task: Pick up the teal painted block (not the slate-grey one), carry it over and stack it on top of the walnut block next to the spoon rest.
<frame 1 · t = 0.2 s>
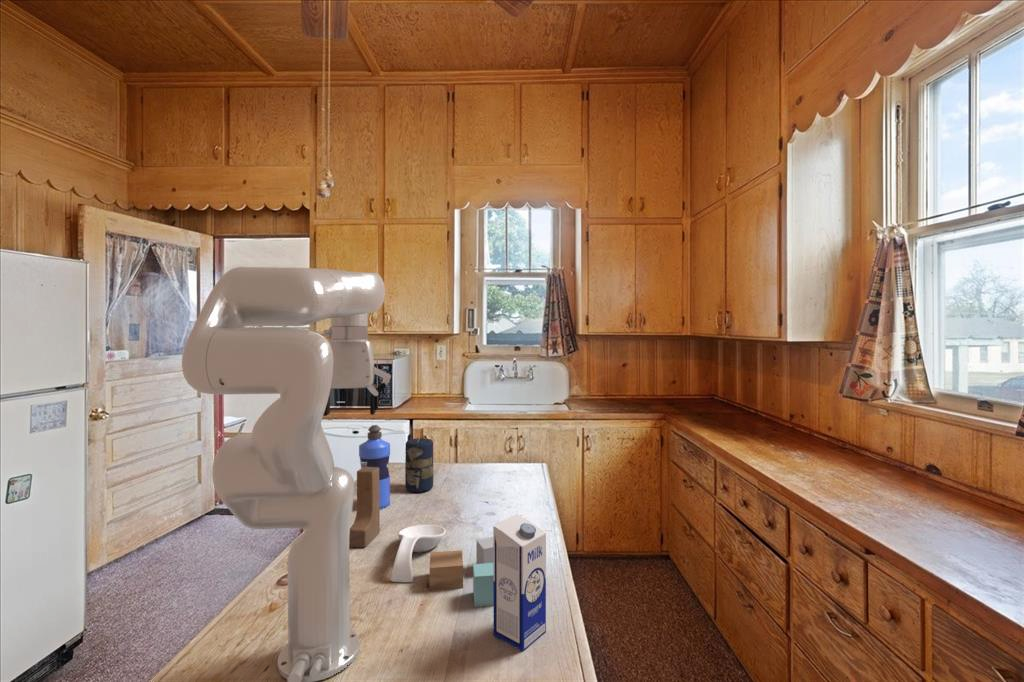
hand: (349, 414, 101), 36 cm above the counter, tool pointing down, fingers open, 9 cm apart
grey block: (490, 568, 107), on the counter
canister: (419, 490, 161), on the counter
spoon rest: (416, 558, 113), on the counter
wooden block: (364, 540, 122), on the counter
teal block: (486, 598, 95), on the counter
milk carton: (519, 634, 84), on the counter
water bottle: (375, 505, 146), on the counter
walnut block: (446, 581, 102), on the counter
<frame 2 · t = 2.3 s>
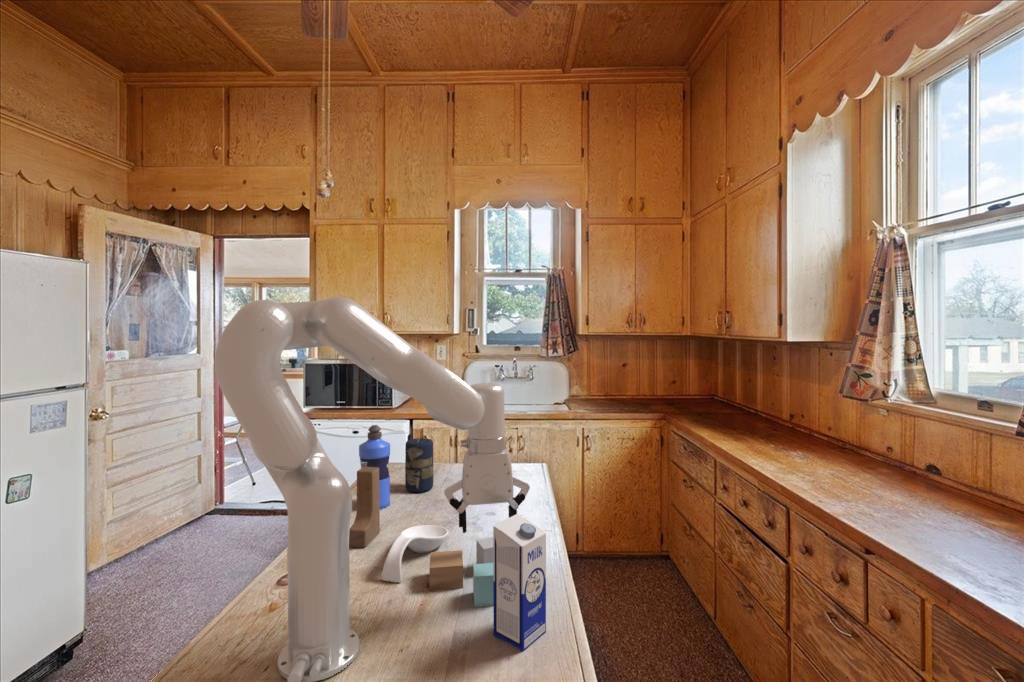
hand: (488, 528, 95), 14 cm above the counter, tool pointing down, fingers open, 9 cm apart
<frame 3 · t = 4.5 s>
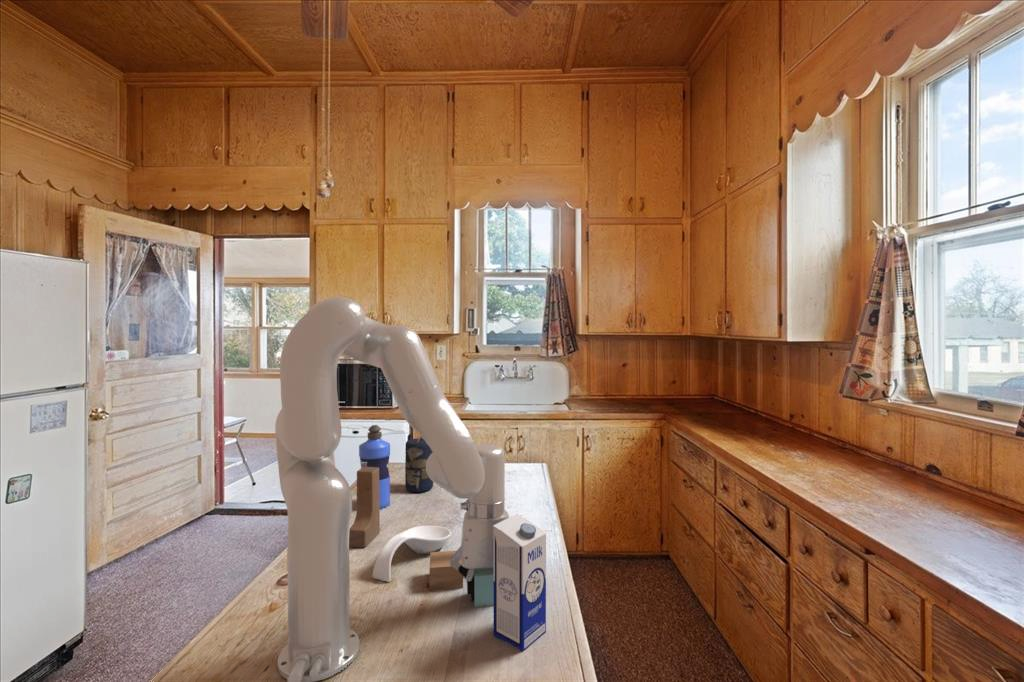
hand: (486, 594, 95), 1 cm above the counter, tool pointing down, fingers closed on teal block, 5 cm apart
teal block: (486, 598, 95), on the counter, touching gripper
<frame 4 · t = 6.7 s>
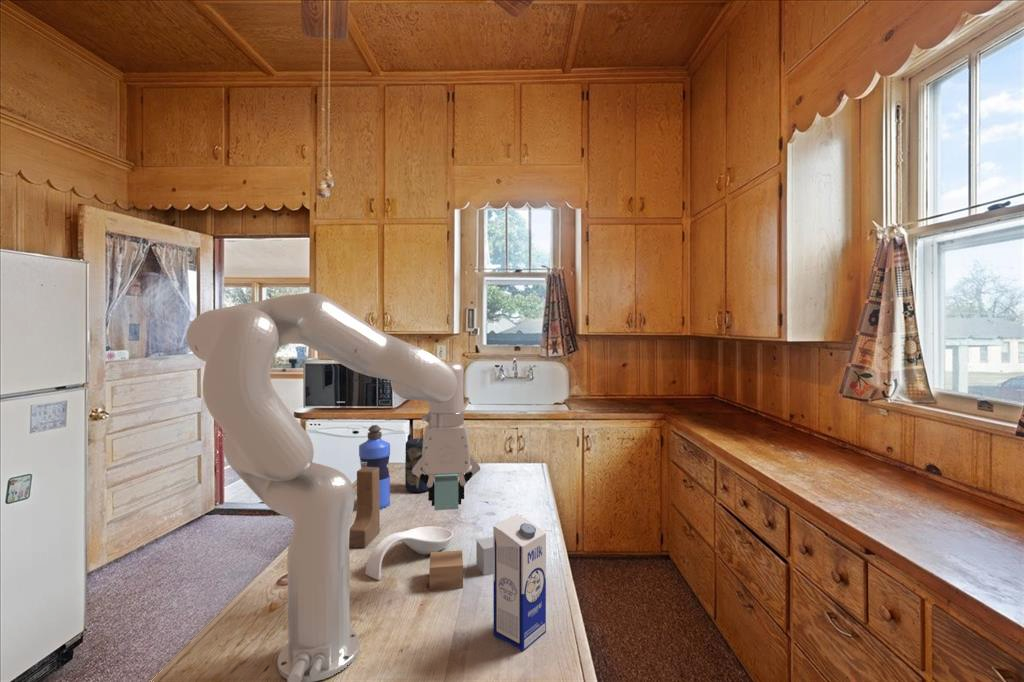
hand: (446, 502, 101), 17 cm above the counter, tool pointing down, fingers closed on teal block, 5 cm apart
teal block: (446, 505, 101), point 16 cm above the counter, touching gripper
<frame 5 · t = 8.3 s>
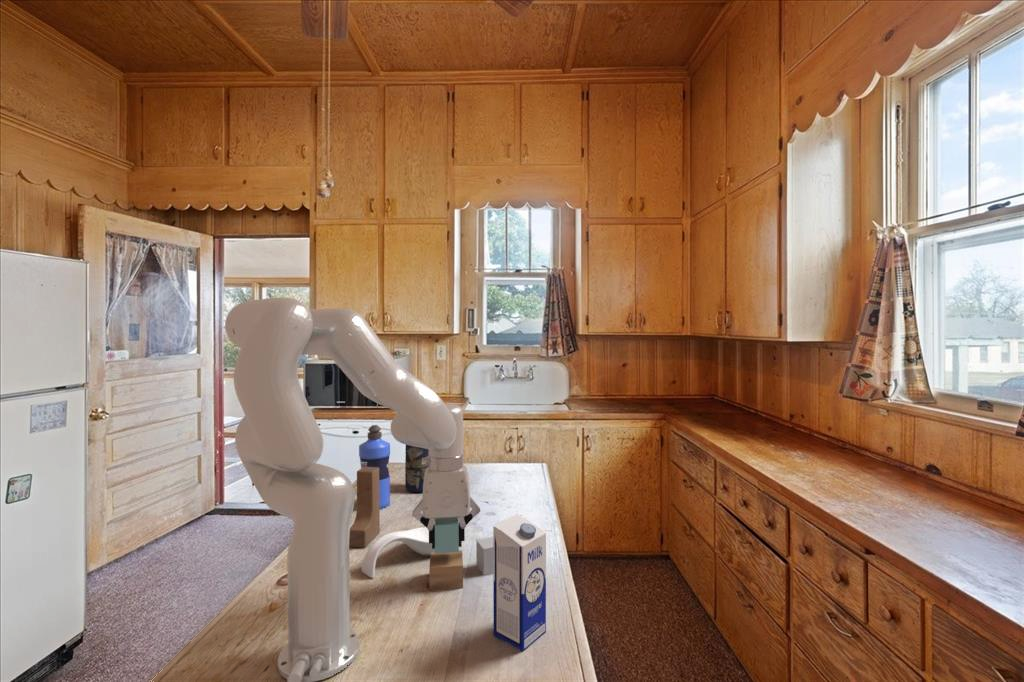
hand: (446, 544, 102), 8 cm above the counter, tool pointing down, fingers closed on teal block, 5 cm apart
teal block: (446, 547, 102), point 7 cm above the counter, touching gripper
when the fingers open (7 cm above the counter, at t = 9.3 s): teal block drops 2 cm, point 5 cm above the counter.
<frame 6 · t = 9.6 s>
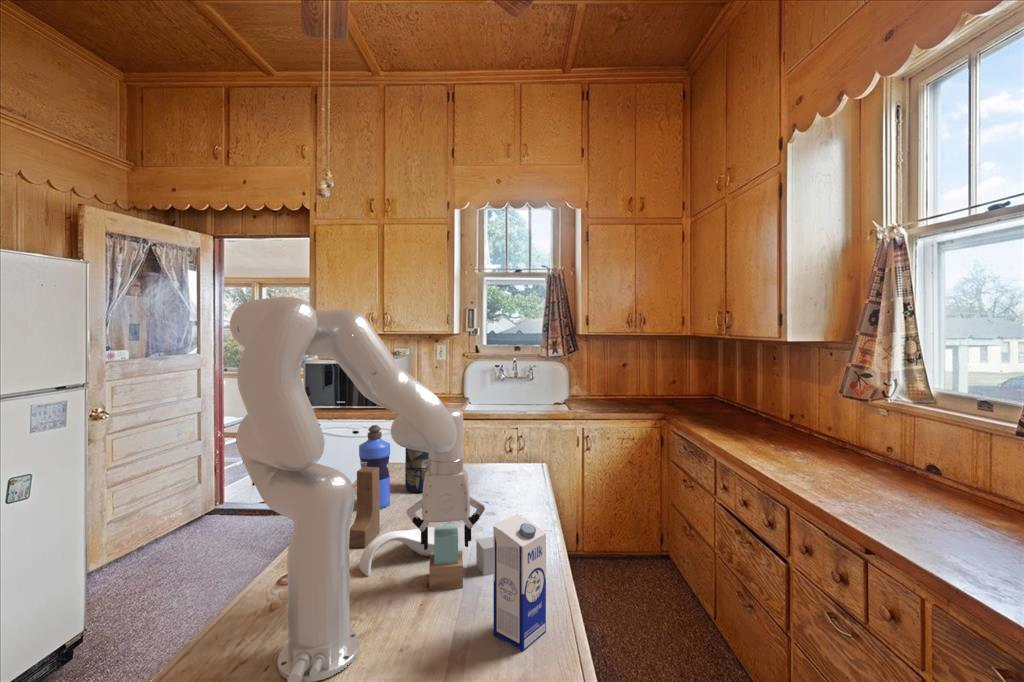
hand: (446, 545, 102), 8 cm above the counter, tool pointing down, fingers open, 8 cm apart
teal block: (446, 558, 102), point 5 cm above the counter
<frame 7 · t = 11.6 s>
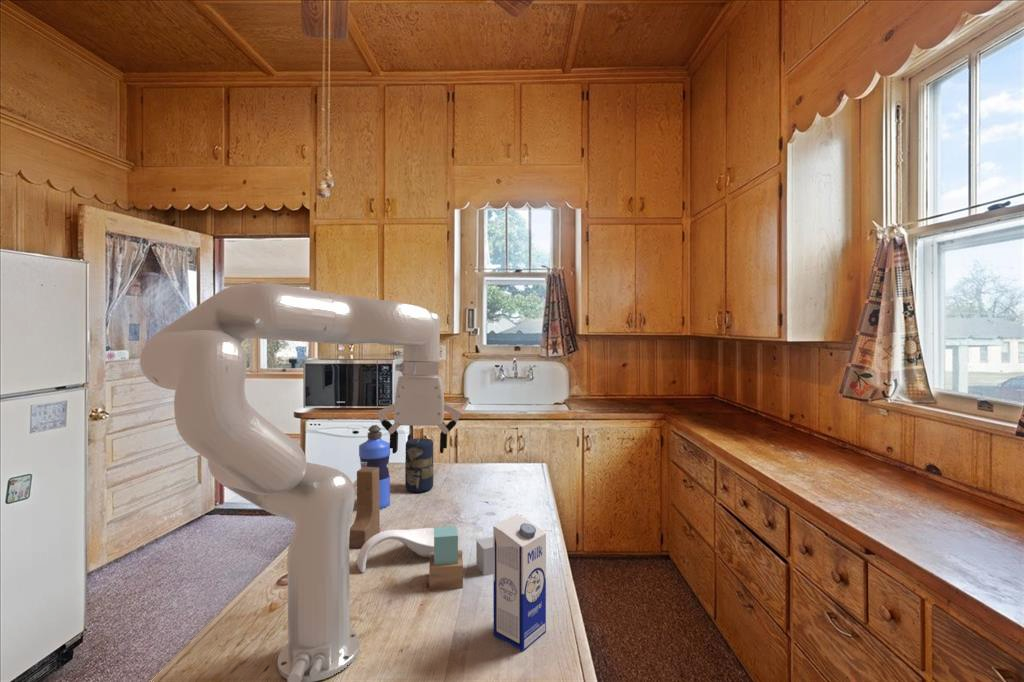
hand: (418, 451, 98), 29 cm above the counter, tool pointing down, fingers open, 9 cm apart
teal block: (445, 558, 102), point 5 cm above the counter, touching walnut block
walnut block: (446, 581, 102), on the counter, touching teal block
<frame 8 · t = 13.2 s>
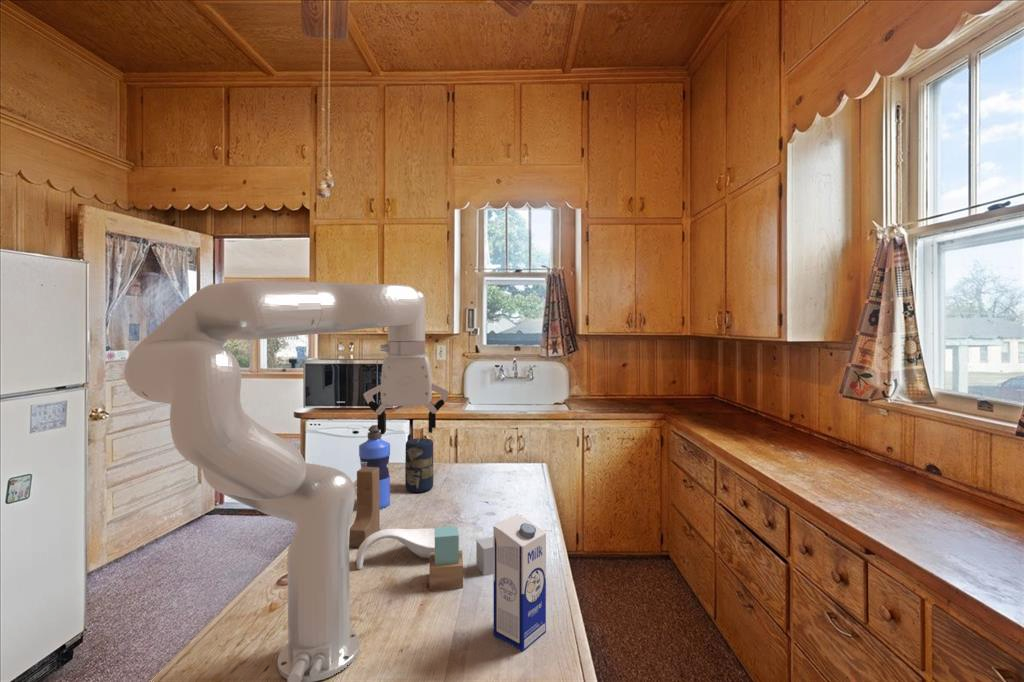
hand: (407, 432, 97), 33 cm above the counter, tool pointing down, fingers open, 9 cm apart
teal block: (446, 558, 102), point 5 cm above the counter
walnut block: (446, 581, 102), on the counter
at the end: teal block 0.0 cm off-centre on the walnut block, point 5.0 cm above the walnut block's base; teal block tilted 0°; the gripper is holding nothing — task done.
